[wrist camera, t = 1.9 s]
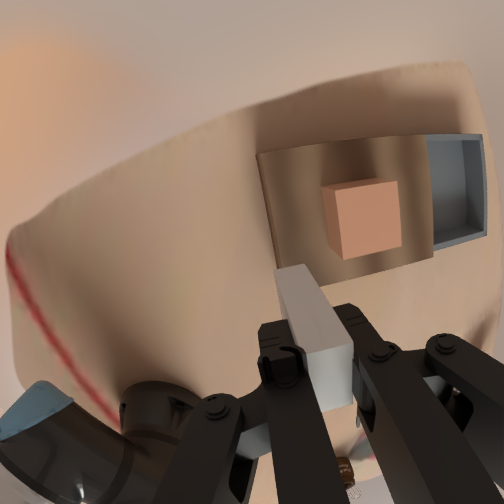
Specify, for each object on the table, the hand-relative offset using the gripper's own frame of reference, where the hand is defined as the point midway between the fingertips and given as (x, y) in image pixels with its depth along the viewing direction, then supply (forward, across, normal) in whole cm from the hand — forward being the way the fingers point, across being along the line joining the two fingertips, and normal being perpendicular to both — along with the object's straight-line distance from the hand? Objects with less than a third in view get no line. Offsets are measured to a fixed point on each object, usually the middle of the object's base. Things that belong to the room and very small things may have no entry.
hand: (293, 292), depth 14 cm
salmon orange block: (+14, -9, 0) cm, 16 cm away
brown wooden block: (+20, -10, 0) cm, 22 cm away
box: (+20, -25, 0) cm, 32 cm away
